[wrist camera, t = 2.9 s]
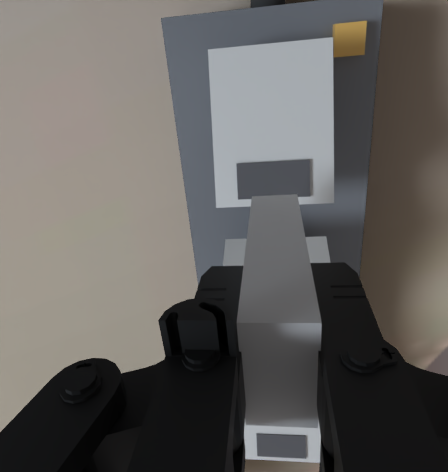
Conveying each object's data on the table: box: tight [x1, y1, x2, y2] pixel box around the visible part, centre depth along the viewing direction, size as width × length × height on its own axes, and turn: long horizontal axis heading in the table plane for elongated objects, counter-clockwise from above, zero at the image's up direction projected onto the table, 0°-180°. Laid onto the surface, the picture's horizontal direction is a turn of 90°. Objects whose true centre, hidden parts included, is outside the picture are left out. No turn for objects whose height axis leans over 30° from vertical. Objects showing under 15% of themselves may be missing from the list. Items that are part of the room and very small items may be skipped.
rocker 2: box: [223, 236, 331, 266], centre depth 19 cm, size 6×5×2 cm
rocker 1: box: [208, 37, 334, 208], centre depth 15 cm, size 6×5×2 cm
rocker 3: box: [244, 419, 321, 463], centre depth 22 cm, size 6×5×2 cm
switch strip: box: [161, 0, 383, 285], centre depth 21 cm, size 28×9×5 cm, turn 5°
